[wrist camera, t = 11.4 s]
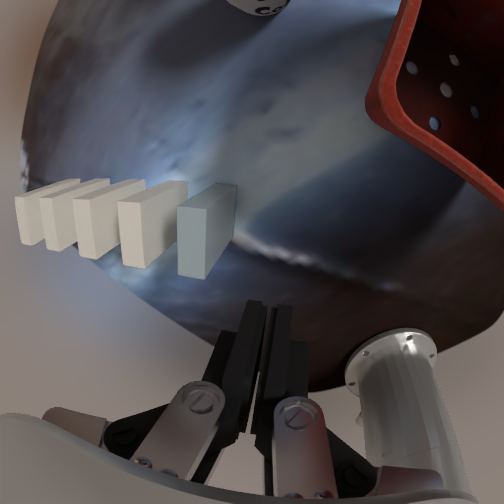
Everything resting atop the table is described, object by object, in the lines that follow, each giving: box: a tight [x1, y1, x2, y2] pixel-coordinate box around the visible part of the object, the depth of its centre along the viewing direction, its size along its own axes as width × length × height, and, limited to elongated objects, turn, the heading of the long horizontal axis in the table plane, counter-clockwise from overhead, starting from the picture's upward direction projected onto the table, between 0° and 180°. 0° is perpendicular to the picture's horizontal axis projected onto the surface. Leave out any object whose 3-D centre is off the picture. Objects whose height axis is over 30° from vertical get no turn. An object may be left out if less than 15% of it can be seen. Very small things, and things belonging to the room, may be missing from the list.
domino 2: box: [39, 178, 110, 252], centre depth 24 cm, size 5×2×9 cm, turn 175°
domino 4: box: [117, 180, 188, 269], centre depth 23 cm, size 5×2×9 cm, turn 175°
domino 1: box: [15, 179, 80, 245], centre depth 25 cm, size 5×2×9 cm, turn 176°
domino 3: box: [72, 179, 146, 260], centre depth 24 cm, size 5×2×9 cm, turn 176°
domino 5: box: [177, 183, 237, 280], centre depth 22 cm, size 5×2×9 cm, turn 175°
